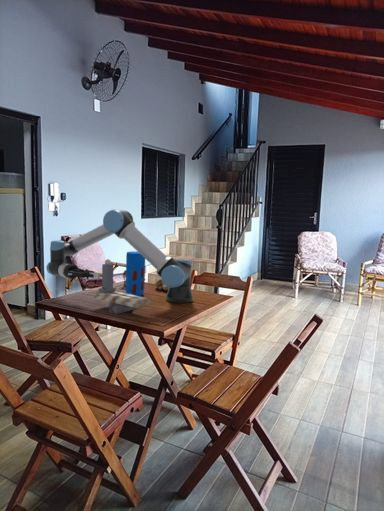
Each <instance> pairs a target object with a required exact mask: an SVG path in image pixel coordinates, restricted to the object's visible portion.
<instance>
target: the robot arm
mask: <svg viewBox="0 0 384 511" xmlns="http://www.w3.org/2000/svg"><path fill="white" fill-rule="evenodd" d="M112 235H113V236H114V235H115V236H116V237H117V238H118V239H122V240H124V241H126V242H127V243H128V244H129V245H130V246H131V247H132V248H133V249H134V250H136V251H137V252H139V253H140V254H141V255H142V256H143V257H144V258H145V261H147V262H149V264H151V265H152V267H153V268H154V269H156V274H157V275H158V276H159V277H160V279H162V282H163V283H164V284H165V285H166V286H168V287H169V290H167V293H166V297H165V299H166V301H167V302H169V303H170V302H171V303H177V304H186V303H191V302H193V301H194V296H193V292H192V288H191V282H192V281H191V279H192V278H191V276H192V266H193V265H192V261H191V260H186V259H176V258H173V257H171V256H170V257H168V256H167V255H166V254H165V253H164V252H163V251H162V250H160V249H159V247H157V246H156V245H155V244H154V243H153V242H152V241H151V240H150V239H149V238H148V237H146V236H145V234H143V233H142V232H141V231H140V230H139V228H137V227H136V223H135V221H134V217H133V215H132V214H131V213H130V212H129V211H128V210H124V209H110V210H109V211H107V212H106V213H105V214H104V216H103V219H102V224H101V225H100V226H97V227H96V228H94V229H91V230H90V231H87V232H86V233H83V234H82V235H80V236H78V237H76V238H74V239H72V240H70V241H68V242H65V241H64V240H52V241H50V244H49V245H50V246H49V250H50V251H49V252H50V261H49V262H47V264H46V266H45V268H46V272H47V273H48V274H49V275H53V276H56V277H62V278H65V279H66V278H68V279H76V278H83V279H85V278H86V280H89V279H94V280H101V273H98V272H95V271H94V270H90V269H87V268H86V269H83V268H82V269H81V268H79V267H78V266H77V265H76V264H72V263H71V264H70V263H66V262H65V260H66V257H69V256H74V255H76V254H78V253H79V252H80V251H82V250H84V249H87V248H88V247H90V246H93V245H95V244H96V243H98V242H100V241H102V240H104V239H107V238H108V237H111V236H112Z"/></svg>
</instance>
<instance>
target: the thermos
mask: <svg viewBox="0 0 384 511" xmlns="http://www.w3.org/2000/svg"><path fill="white" fill-rule="evenodd" d="M125 256H126V259H125V270H126V278H125V279H126V286H125V293H126V294H131V295H135V296H140V297H143V296H144V295H145V280H146V278H145V277H146V259H145V258H144V257H143V256H142V255H141V254H140V253H139V252H138V251H137V250H136V251H135V250H133V251H127V252H126V255H125Z"/></svg>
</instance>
